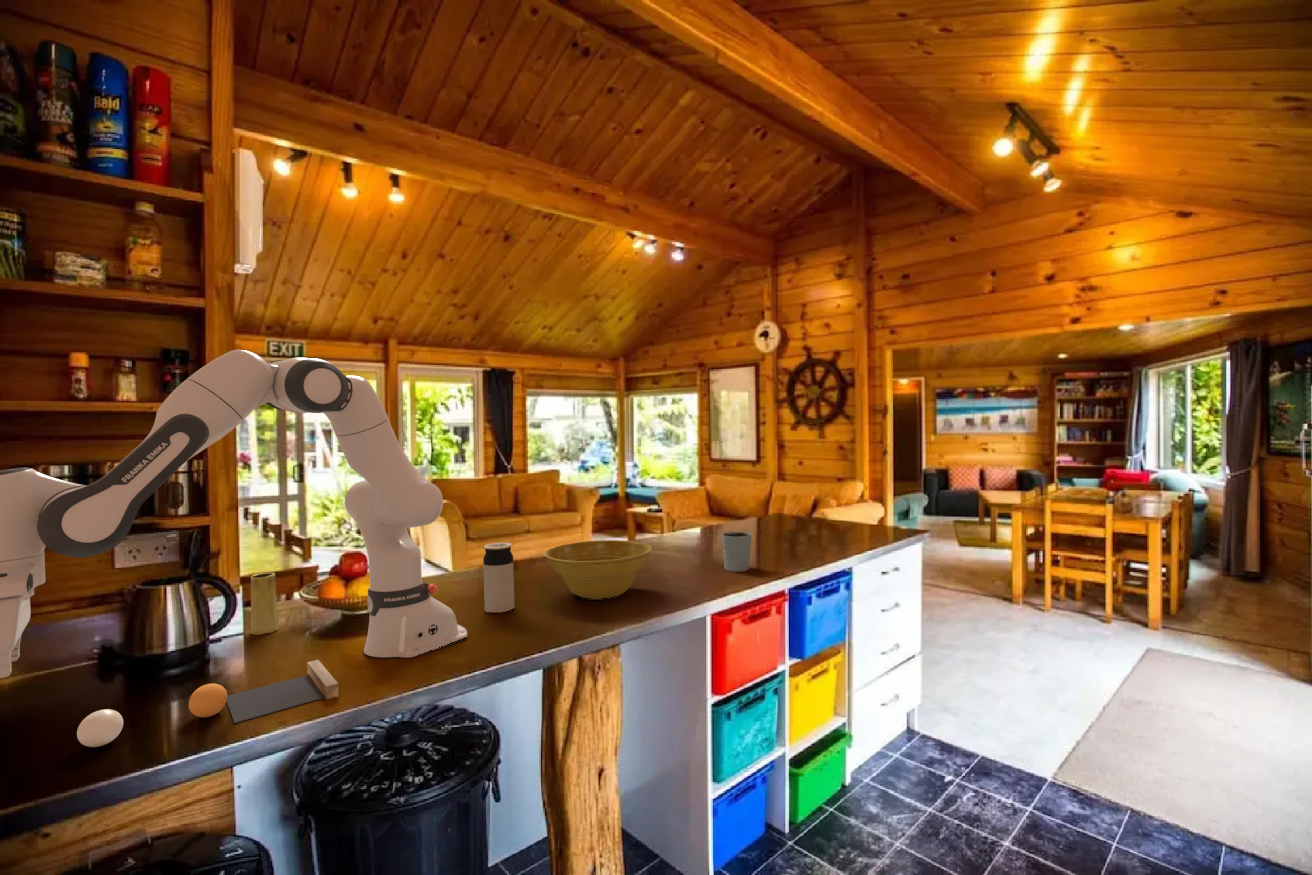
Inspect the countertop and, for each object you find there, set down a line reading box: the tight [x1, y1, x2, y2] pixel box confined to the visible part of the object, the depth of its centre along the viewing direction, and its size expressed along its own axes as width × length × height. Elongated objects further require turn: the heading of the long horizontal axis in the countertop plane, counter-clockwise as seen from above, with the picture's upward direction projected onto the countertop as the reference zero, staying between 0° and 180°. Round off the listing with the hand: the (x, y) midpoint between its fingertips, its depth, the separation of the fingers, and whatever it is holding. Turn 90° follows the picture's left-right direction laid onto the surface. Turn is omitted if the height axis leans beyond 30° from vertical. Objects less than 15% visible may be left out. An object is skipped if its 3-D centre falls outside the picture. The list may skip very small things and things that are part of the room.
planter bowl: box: [543, 539, 653, 600], centre depth 178 cm, size 32×32×13 cm
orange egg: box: [188, 683, 228, 718], centre depth 106 cm, size 6×6×6 cm
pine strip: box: [306, 659, 339, 701], centre depth 117 cm, size 2×16×2 cm, turn 41°
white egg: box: [76, 708, 124, 748], centre depth 96 cm, size 6×6×6 cm
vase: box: [250, 572, 280, 636], centre depth 151 cm, size 6×6×14 cm
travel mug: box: [482, 542, 515, 613], centre depth 164 cm, size 8×8×18 cm
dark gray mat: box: [226, 674, 326, 725], centre depth 112 cm, size 14×14×1 cm
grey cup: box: [721, 531, 752, 573], centre depth 206 cm, size 10×10×12 cm
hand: (6, 668), depth 89 cm, fingers open, 7 cm apart
